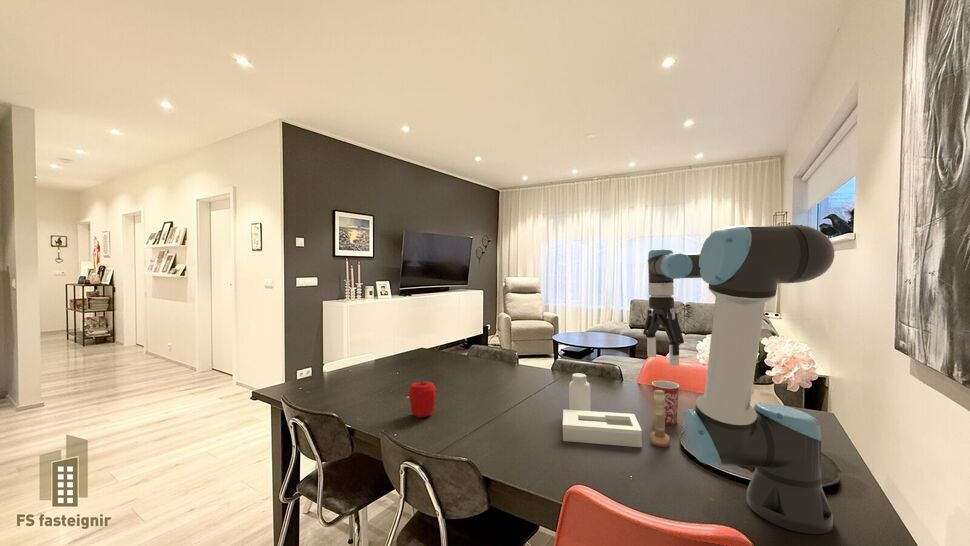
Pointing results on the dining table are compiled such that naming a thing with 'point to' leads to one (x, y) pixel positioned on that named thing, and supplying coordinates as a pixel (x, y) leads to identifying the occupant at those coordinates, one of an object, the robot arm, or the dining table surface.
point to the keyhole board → (601, 428)
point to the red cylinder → (422, 398)
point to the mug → (668, 399)
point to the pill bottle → (579, 393)
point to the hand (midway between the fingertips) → (662, 360)
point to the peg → (659, 421)
